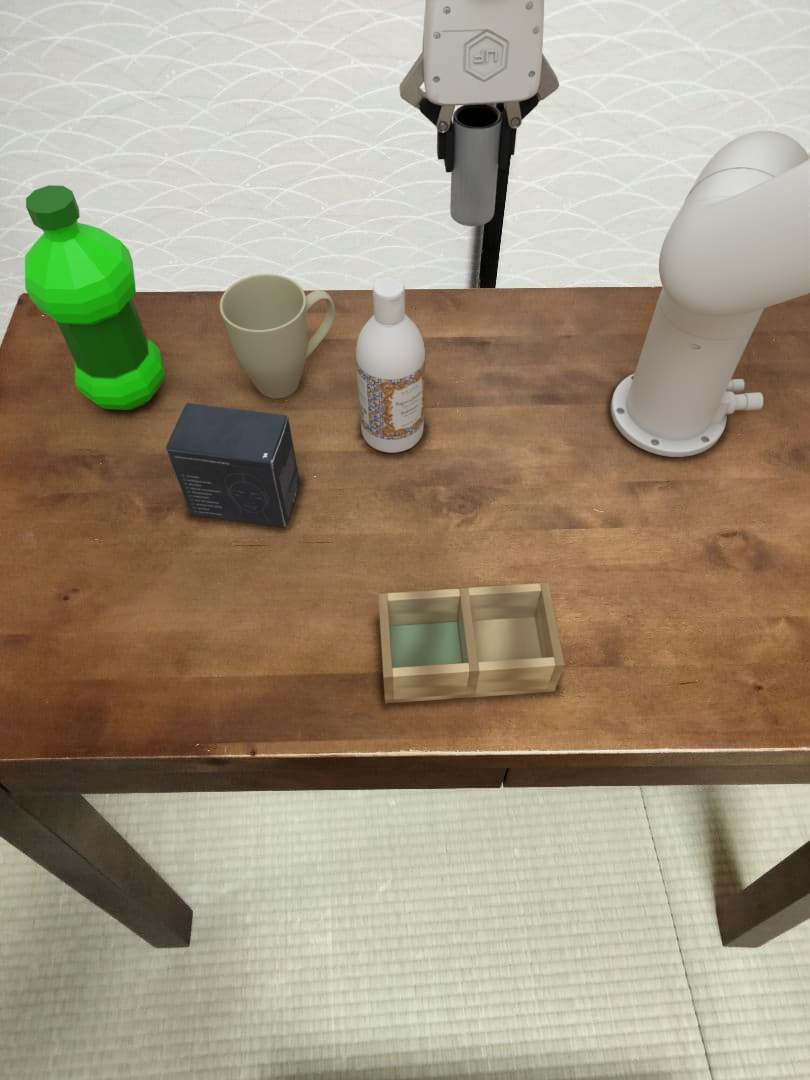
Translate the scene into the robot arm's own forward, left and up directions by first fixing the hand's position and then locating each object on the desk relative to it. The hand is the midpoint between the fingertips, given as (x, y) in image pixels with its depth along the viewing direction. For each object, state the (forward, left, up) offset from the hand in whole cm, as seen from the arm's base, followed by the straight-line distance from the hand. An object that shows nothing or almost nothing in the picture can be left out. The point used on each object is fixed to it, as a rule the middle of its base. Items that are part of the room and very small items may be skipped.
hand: (474, 161), depth 79 cm
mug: (+21, +5, -23) cm, 32 cm away
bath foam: (+9, +14, -23) cm, 29 cm away
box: (+25, +22, -23) cm, 41 cm away
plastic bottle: (+39, +6, -23) cm, 46 cm away
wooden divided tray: (+4, +42, -23) cm, 48 cm away
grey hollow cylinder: (0, 0, -6) cm, 6 cm away
